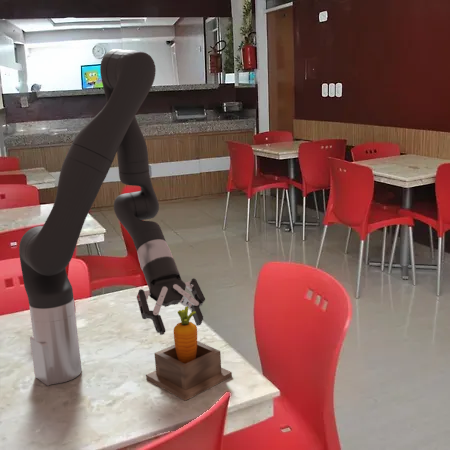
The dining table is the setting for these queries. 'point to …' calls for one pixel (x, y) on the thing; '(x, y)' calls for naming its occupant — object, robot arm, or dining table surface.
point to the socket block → (188, 371)
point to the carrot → (185, 337)
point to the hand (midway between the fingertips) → (181, 328)
